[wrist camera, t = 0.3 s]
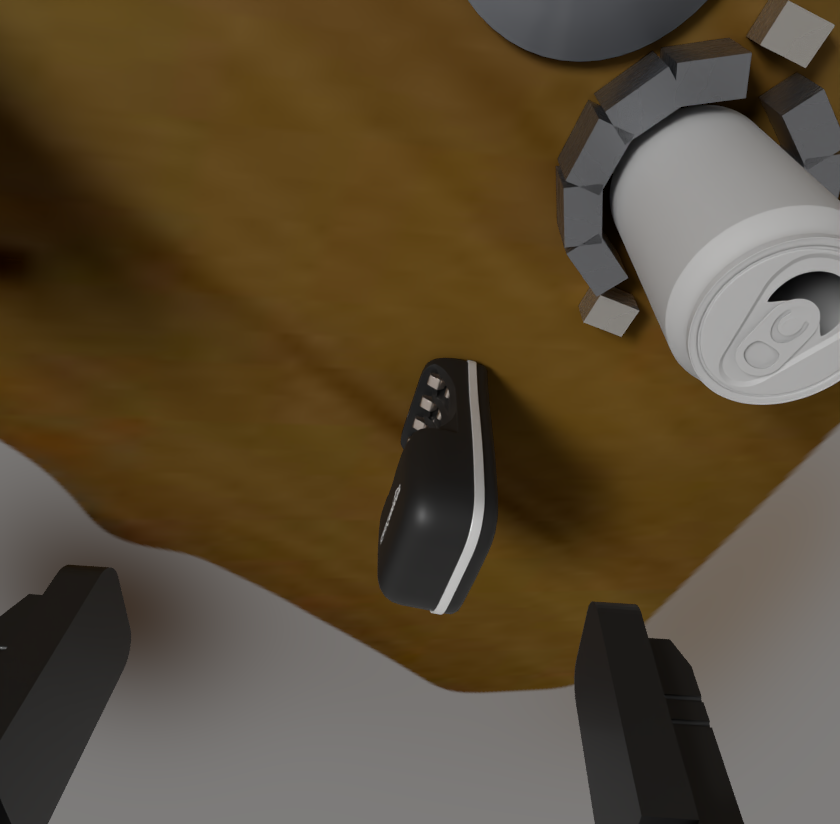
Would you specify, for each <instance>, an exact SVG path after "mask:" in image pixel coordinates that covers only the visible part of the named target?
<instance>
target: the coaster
mask: <svg viewBox="0 0 840 824" xmlns="http://www.w3.org/2000/svg"><path fill="white" fill-rule="evenodd" d="M468 1H469V2H470V3H471V5H472V6H473V8H474V9H475V10H476V12H477V13H478V14H479V15H480V16H481V17H482V18H483V19H484V20H485V21H486V22H487V23H488V24H489V25H490V26H491V27H492V28H493V29H494V30H495V31H497V32H498V33H499V34H501V35H502V36H503V37H504V38H506V39H507V40H509V41H510V42H512V43H514V44H516V45H518V46H519V47H521V48H523V49H525V50H527V51H530V52H533V53H535V54H538V55H540V56H544V57H548V58H553V59H557V60H563V61H578V62H583V61H597V60H603V59H608V58H613V57H618V56H621V55H624V54H627V53H630V52H633V51H635V50H638V49H640V48H642V47H644V46H646V45H649V44H651V43H653V42H655V41H657V40H658V39H660V38H662V37H663V36H665V35H666V34H668V33H669V32H671V31H672V30H674V29H675V28H677V27H678V26H679V25H681V24H682V23H683V22H684V21H685V20H687V19H688V18H689V17H690V16H692V15H693V14H694V13H695V12H696V11H697V10H698V9H699V8H700V7H701V6H702V5H703V4H704V3H705V2H706V1H707V0H468Z"/></svg>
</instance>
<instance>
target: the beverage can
mask: <svg viewBox="0 0 840 824" xmlns="http://www.w3.org/2000/svg"><path fill="white" fill-rule="evenodd" d="M610 208H611V213H612V217H613V220H614V222H615V225H616V227H617V229H618V232H619V234H620V236H621V238H622V241H623V243H624V245H625V247H626V250H627V252H628V254H629V256H630V259H631V261H632V263H633V266H634V268H635V270H636V272H637V275H638V277H639V279H640V281H641V284H642V286H643V288H644V290H645V293H646V295H647V297H648V300H649V302H650V304H651V306H652V309H653V311H654V313H655V315H656V318H657V320H658V322H659V324H660V327H661V329H662V331H663V334H664V336H665V338H666V340H667V343H668V345H669V347H670V349H671V351H672V353H673V355H674V357H675V358H676V360H677V361H678V363H679V364H680V365H681V366H682V367H683V368H684V369H685V370H686V371H687V372H688V373H690V374H691V375H692V376H694V377H695V378H697V379H699V380H701V381H702V382H703V383H704V384H705V385H706V386H707V387H708V388H709V389H711V390H712V391H713V392H715V393H716V394H718V395H720V396H722V397H725V398H727V399H729V400H733V401H736V402H740V403H746V404H757V405H768V404H779V403H785V402H790V401H794V400H798V399H802V398H805V397H808V396H810V395H813V394H815V393H818V392H820V391H822V390H824V389H826V388H828V387H830V386H832V385H834V384H835V383H837V382H838V381H840V201H839V200H838V199H837V198H836V197H835V196H834V195H833V194H832V193H831V192H829V191H828V190H827V189H826V188H825V187H824V186H823V185H822V184H821V183H820V182H818V181H817V180H816V179H815V178H814V177H813V176H812V175H811V174H810V173H809V172H807V171H806V170H805V169H804V168H803V167H802V166H801V165H800V164H799V163H797V162H796V161H795V160H794V159H793V158H792V157H791V156H790V155H789V154H788V153H786V152H785V151H784V150H783V149H782V148H781V147H780V146H779V145H778V144H777V143H775V142H774V141H773V140H772V139H771V138H770V137H769V136H768V135H767V134H766V133H764V132H763V131H762V130H761V129H760V128H759V127H758V126H757V125H756V124H755V123H753V122H752V121H751V120H750V119H749V118H748V117H746V116H744V115H743V114H741V113H739V112H737V111H735V110H733V109H730V108H727V107H723V106H716V105H697V106H690V107H686V108H682V109H679V110H676V111H674V112H673V113H671V114H670V115H668V116H667V117H665V118H664V119H662V120H661V121H659V122H658V123H657V124H655V125H654V126H652V127H651V128H649V129H648V130H646V131H645V132H643V133H642V134H641V135H639V136H638V137H636V138H635V139H633V140H632V141H631V142H630V144H629V145H628V147H627V149H626V150H625V152H624V154H623V156H622V157H621V159H620V161H619V162H618V164H617V166H616V168H615V170H614V173H613V177H612V181H611V186H610Z"/></svg>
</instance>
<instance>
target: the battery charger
mask: <svg viewBox="0 0 840 824" xmlns="http://www.w3.org/2000/svg"><path fill="white" fill-rule="evenodd" d="M401 445H402V447H403V449H404V450H403V452H402V455H401V458H400V461H399V464H398V467H397V470H396V473H395V477H394V481H393V484H392V487H391V490H390V492H389V495H388V497H387V499H386V502H385V505H384V508H383V511H382V514H381V518H380V527H379V543H378V581H379V586H380V589H381V591H382V592H383V594H384V595H385V597H387V598H388V599H389V600H391V601H392V602H394V603H397V604H400V605H405V606H410V607H415V608H420V609H426V610H430V611H431V613H435V614H440V615H441V614H443V613H446V614H452V613H455V612H457V611H458V610H459V608H460V607H461V605H462V604H463V602H464V600H465V598H466V596H467V594H468V592H469V590H470V588H471V586H472V584H473V583H474V581H475V579H476V577H477V574H478V572H479V570H480V568H481V566H482V564H483V562H484V560H485V558H486V556H487V554H488V551H489V549H490V546H491V544H492V541H493V538H494V534H495V530H496V525H497V517H498V492H497V476H496V463H495V451H494V441H493V432H492V423H491V414H490V405H489V393H488V378H487V370H486V367H485V366H483V365H480V364H476V362H475V361H471V360H468V361H464V360H459V359H454V358H439V359H434V360H432V361H430V362H428V363H427V364H426V366H425V368H424V369H423V372H422V374H421V377H420V379H419V382H418V385H417V388H416V391H415V394H414V397H413V400H412V403H411V406H410V409H409V412H408V415H407V418H406V421H405V425H404V428H403V431H402V436H401Z"/></svg>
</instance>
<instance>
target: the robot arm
mask: <svg viewBox="0 0 840 824" xmlns="http://www.w3.org/2000/svg"><path fill="white" fill-rule="evenodd" d="M130 643H131V631H130V626H129V622H128V618H127V613H126V608H125V604H124V600H123V596H122V592H121V587H120V583H119V579H118V576H117V573H116V571H115V570H114V569H113V568H109V567H94V566H79V565H66V566H64V567H63V568H62V569H60V571H59V572H58V573H57V575H56V576H55V577H54V579H53V580H52V582H51V583H50V585H49V587H48V588H47V589H46V591H45V592H44V594H43V595H33V594H29V595H27V596H26V597H25V598H23V599H22V600H21V601H20V602H18V603H17V604H16V605H14V606H13V607H12V608H10V609H9V610H8V611H7V612H5V613H4V614H3V615H2V616H0V824H48V822H49V820H50V818H51V816H52V814H53V812H54V810H55V808H56V806H57V804H58V802H59V800H60V798H61V796H62V794H63V792H64V790H65V787H66V785H67V783H68V781H69V779H70V777H71V775H72V773H73V771H74V769H75V767H76V765H77V763H78V761H79V759H80V757H81V755H82V753H83V751H84V749H85V747H86V745H87V743H88V741H89V739H90V737H91V734H92V732H93V730H94V728H95V726H96V724H97V722H98V720H99V718H100V716H101V714H102V712H103V710H104V708H105V706H106V704H107V702H108V700H109V698H110V696H111V694H112V692H113V690H114V688H115V686H116V684H117V682H118V680H119V678H120V675H121V673H122V671H123V669H124V667H125V664H126V662H127V659H128V655H129V650H130ZM575 699H576V707H577V713H578V719H579V726H580V732H581V738H582V745H583V751H584V757H585V763H586V770H587V776H588V783H589V788H590V795H591V802H592V808H593V814H594V820H595V824H744V822H743V820H742V817H741V814H740V811H739V808H738V805H737V802H736V799H735V796H734V793H733V790H732V787H731V784H730V781H729V778H728V775H727V772H726V769H725V766H724V763H723V760H722V757H721V754H720V751H719V748H718V745H717V742H716V739H715V736H714V733H713V730H712V728H710V725H709V722H710V721H709V718H708V715H707V712H706V709H705V706H704V703H703V702H702V701H701V694H700V691H699V688H698V685H697V682H696V679H695V676H694V673H693V670H692V667H691V665H690V664H689V663H688V662H687V660H686V659H685V658H684V657H683V655H682V654H681V653H680V652H679V650H678V649H677V648H676V647H675V645H674V644H673V643H672V642H671V640H669V639H654V638H648V635H647V632H646V629H645V625H644V621H643V618H642V614H641V611H640V609H639V607H638V606H637V605H636V604H621V603H606V602H591V603H590V605H589V607H588V611H587V616H586V620H585V624H584V629H583V633H582V638H581V642H580V646H579V651H578V655H577V660H576V666H575Z"/></svg>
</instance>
